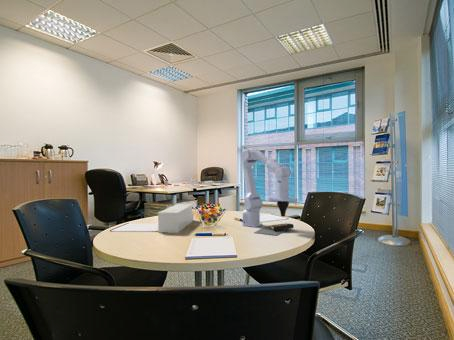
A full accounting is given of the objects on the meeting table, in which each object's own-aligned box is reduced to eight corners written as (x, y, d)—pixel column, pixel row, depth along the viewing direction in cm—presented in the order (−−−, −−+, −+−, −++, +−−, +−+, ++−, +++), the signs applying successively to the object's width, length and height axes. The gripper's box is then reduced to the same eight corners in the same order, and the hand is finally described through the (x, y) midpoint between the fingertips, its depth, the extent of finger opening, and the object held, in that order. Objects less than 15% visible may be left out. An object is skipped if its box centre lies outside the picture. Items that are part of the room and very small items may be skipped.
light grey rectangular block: (177, 220, 168) (177, 203, 168) (193, 220, 167) (193, 204, 167) (158, 232, 136) (158, 212, 136) (177, 233, 135) (177, 212, 135)
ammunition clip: (273, 226, 134) (267, 224, 146) (274, 230, 133) (267, 227, 145) (293, 224, 135) (285, 222, 147) (293, 227, 135) (285, 225, 147)
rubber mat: (254, 233, 133) (254, 232, 133) (265, 226, 147) (265, 226, 147) (276, 235, 127) (276, 235, 127) (286, 228, 141) (286, 228, 141)
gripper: (266, 189, 133) (267, 216, 134) (294, 191, 126) (295, 218, 126) (271, 188, 140) (271, 214, 140) (298, 189, 132) (298, 216, 133)
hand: (283, 216), depth 133 cm, fingers closed
